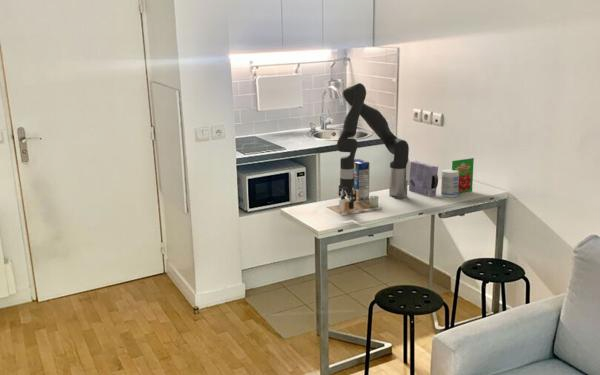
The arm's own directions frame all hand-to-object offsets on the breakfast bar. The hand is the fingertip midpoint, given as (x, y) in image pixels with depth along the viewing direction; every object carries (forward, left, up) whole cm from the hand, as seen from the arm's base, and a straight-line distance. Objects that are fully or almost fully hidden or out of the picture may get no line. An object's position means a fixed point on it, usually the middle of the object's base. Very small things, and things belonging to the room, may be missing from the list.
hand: (347, 206), depth 340 cm
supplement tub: (-68, -1, -4) cm, 68 cm away
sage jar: (-15, +2, -2) cm, 16 cm away
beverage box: (-19, -20, -4) cm, 28 cm away
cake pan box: (-58, -13, -4) cm, 60 cm away
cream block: (0, 0, -2) cm, 2 cm away
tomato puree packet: (-77, -2, -4) cm, 77 cm away
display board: (-6, -3, -4) cm, 8 cm away
